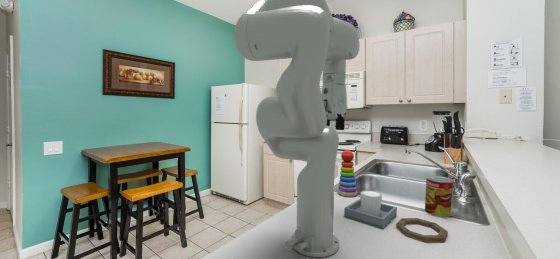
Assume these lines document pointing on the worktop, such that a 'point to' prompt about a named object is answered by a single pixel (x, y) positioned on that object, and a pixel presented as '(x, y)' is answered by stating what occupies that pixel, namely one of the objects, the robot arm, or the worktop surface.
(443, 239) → the coaster ring
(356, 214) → the tray
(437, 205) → the canned food
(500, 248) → the worktop surface
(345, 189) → the stacking toy
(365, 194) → the white cylinder
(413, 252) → the worktop surface
